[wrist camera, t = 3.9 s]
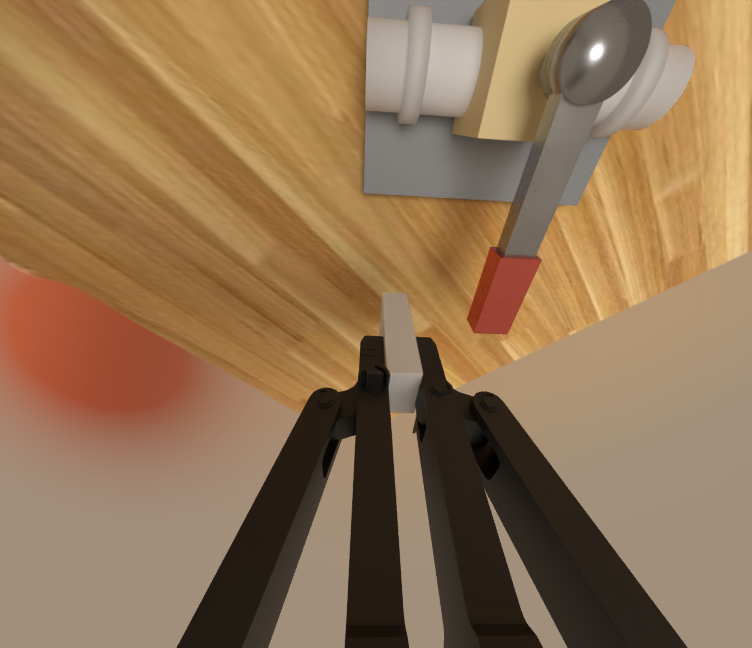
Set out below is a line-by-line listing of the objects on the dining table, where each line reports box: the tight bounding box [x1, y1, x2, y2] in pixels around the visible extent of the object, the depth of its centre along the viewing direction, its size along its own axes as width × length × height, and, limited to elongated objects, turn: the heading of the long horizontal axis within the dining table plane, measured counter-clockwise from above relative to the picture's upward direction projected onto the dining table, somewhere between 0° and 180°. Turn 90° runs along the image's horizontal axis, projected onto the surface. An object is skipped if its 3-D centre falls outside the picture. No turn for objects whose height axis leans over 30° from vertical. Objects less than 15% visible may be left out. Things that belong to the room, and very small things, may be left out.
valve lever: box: [467, 0, 652, 334], centre depth 16 cm, size 17×3×2 cm, turn 177°
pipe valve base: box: [364, 0, 695, 206], centre depth 17 cm, size 20×16×11 cm
